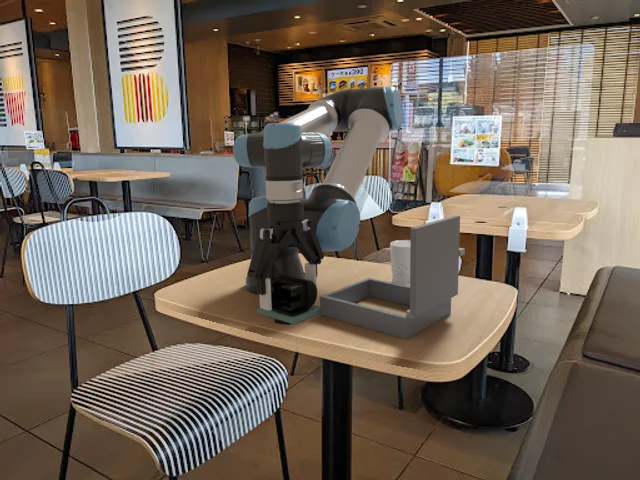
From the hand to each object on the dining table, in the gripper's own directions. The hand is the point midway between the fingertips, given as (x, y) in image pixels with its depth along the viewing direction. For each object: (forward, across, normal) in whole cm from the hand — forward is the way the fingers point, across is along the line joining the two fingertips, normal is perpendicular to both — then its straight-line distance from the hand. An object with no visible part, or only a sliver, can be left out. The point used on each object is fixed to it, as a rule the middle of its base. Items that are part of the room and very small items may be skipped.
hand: (289, 300), depth 108 cm
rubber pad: (+3, 0, 0) cm, 3 cm away
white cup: (+3, +34, -8) cm, 34 cm away
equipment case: (+3, +12, -17) cm, 22 cm away
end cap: (+2, 0, 0) cm, 2 cm away
